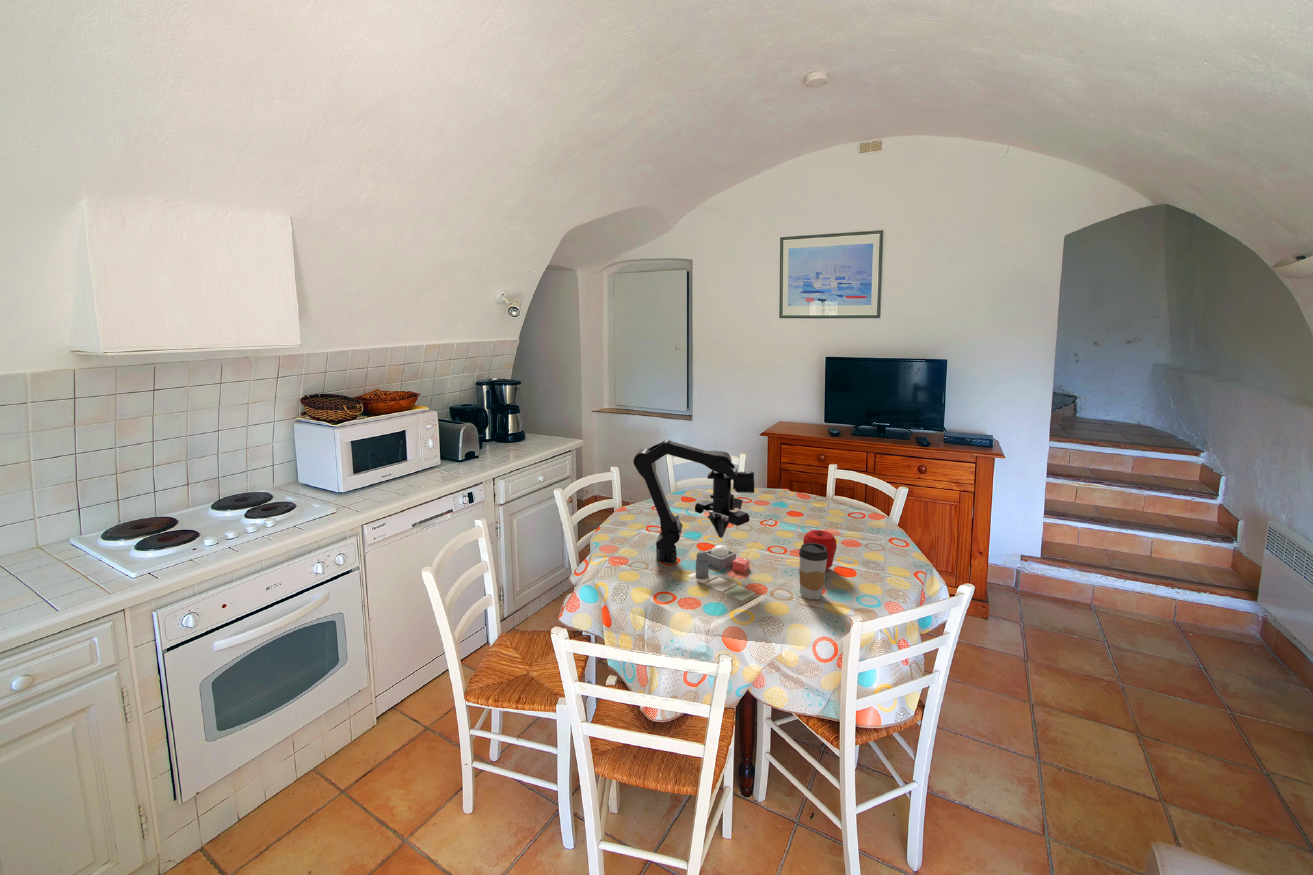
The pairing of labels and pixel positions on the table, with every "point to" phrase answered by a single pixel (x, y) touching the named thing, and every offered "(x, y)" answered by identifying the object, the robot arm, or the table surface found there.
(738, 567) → the red die
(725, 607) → the table surface
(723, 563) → the dome housing
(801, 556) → the coffee cup
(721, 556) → the dome
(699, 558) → the pawn
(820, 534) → the apple
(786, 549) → the table surface
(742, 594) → the game board
